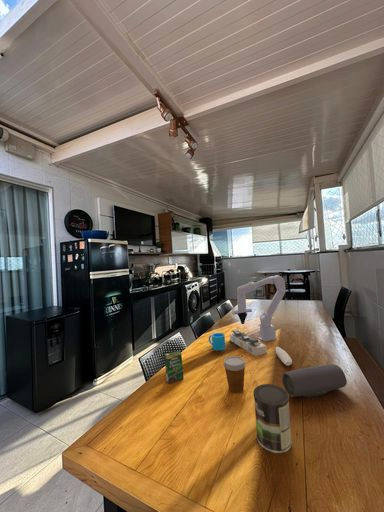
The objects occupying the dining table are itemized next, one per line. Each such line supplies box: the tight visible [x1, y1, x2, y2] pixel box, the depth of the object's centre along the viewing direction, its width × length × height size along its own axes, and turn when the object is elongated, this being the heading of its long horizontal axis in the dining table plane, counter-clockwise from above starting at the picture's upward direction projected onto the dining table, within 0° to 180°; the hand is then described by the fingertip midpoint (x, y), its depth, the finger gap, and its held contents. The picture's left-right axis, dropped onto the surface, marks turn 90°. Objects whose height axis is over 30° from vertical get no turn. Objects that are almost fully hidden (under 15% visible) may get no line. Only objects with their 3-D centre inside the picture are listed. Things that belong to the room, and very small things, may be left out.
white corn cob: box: [274, 346, 293, 366], centre depth 120 cm, size 5×20×5 cm, turn 177°
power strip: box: [229, 332, 268, 357], centre depth 143 cm, size 8×34×5 cm, turn 21°
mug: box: [208, 332, 226, 352], centre depth 142 cm, size 12×8×8 cm
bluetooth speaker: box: [281, 364, 348, 398], centre depth 90 cm, size 23×9×10 cm, turn 100°
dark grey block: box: [232, 328, 242, 336], centre depth 148 cm, size 3×6×2 cm, turn 21°
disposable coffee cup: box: [222, 355, 246, 394], centre depth 96 cm, size 10×10×12 cm
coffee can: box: [252, 383, 293, 454], centre depth 69 cm, size 10×10×14 cm
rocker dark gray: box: [240, 332, 250, 340], centre depth 140 cm, size 3×6×2 cm, turn 21°
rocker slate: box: [248, 338, 260, 343], centre depth 131 cm, size 3×6×2 cm, turn 21°
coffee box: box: [164, 350, 184, 385], centre depth 106 cm, size 8×3×13 cm, turn 113°
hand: (242, 323), depth 153 cm, fingers closed
